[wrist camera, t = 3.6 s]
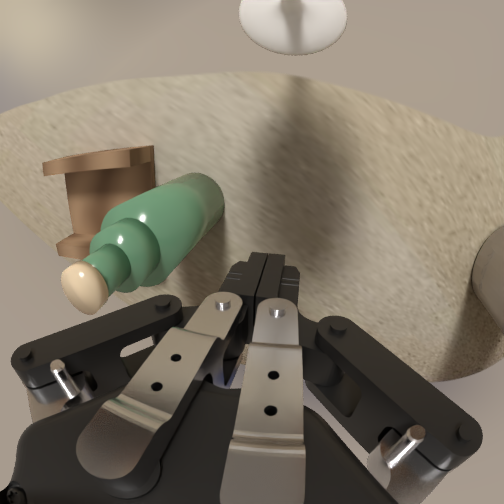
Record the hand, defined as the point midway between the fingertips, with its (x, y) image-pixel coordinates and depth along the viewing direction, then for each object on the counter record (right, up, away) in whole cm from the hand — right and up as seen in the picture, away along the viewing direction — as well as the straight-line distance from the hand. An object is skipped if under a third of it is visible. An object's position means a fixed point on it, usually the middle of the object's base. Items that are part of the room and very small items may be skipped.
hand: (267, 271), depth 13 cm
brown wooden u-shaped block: (-15, +6, +13) cm, 21 cm away
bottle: (-6, +5, +11) cm, 14 cm away
